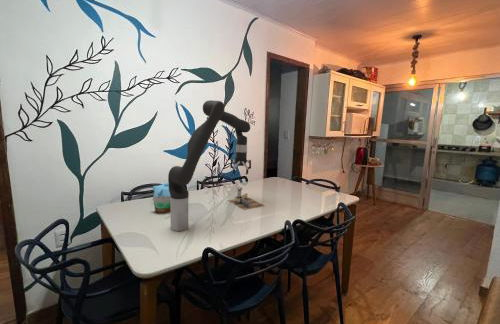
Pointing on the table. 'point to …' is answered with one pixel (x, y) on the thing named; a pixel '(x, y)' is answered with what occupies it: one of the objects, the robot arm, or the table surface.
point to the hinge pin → (239, 192)
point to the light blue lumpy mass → (161, 190)
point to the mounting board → (252, 205)
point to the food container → (162, 204)
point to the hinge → (242, 200)
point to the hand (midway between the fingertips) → (240, 174)
